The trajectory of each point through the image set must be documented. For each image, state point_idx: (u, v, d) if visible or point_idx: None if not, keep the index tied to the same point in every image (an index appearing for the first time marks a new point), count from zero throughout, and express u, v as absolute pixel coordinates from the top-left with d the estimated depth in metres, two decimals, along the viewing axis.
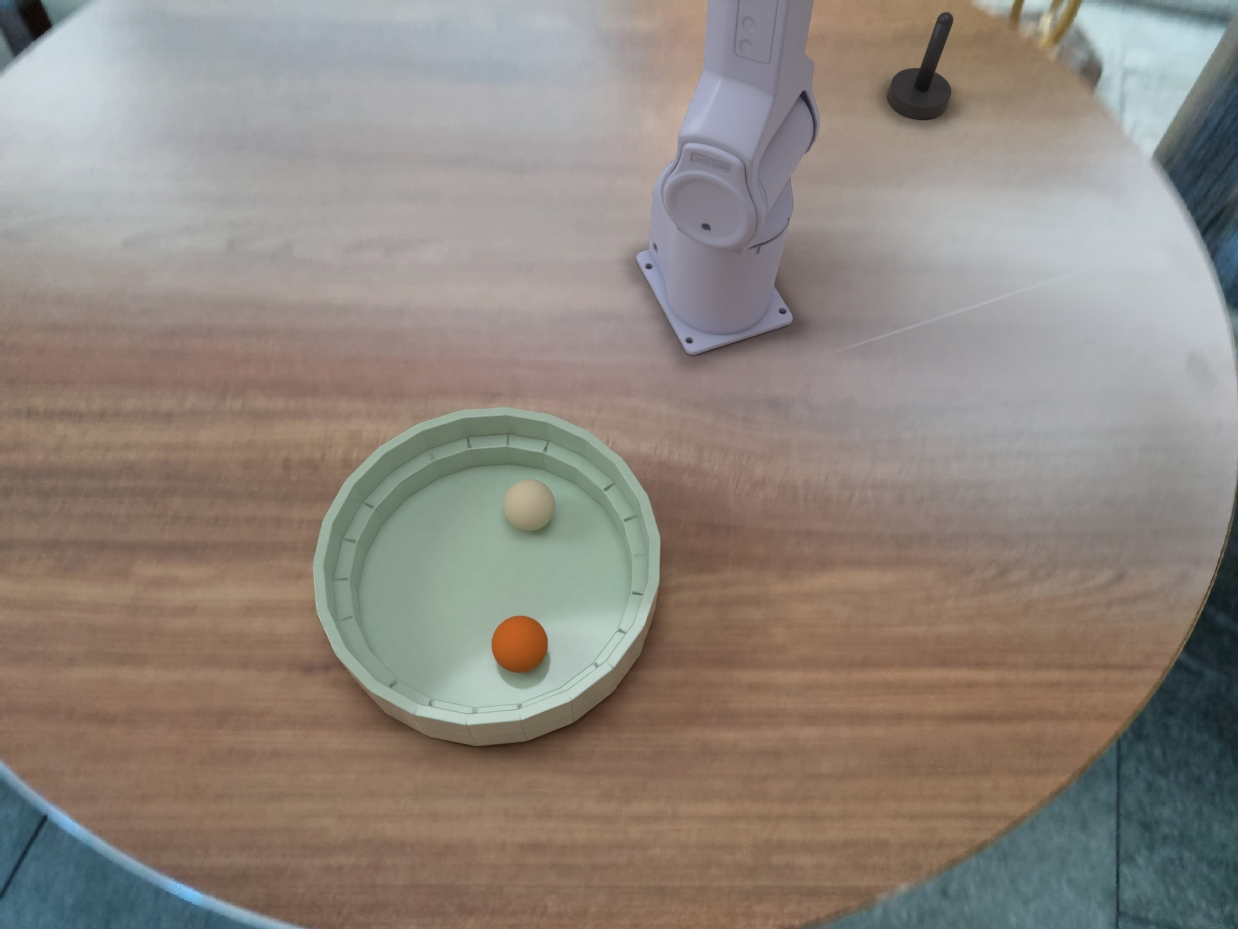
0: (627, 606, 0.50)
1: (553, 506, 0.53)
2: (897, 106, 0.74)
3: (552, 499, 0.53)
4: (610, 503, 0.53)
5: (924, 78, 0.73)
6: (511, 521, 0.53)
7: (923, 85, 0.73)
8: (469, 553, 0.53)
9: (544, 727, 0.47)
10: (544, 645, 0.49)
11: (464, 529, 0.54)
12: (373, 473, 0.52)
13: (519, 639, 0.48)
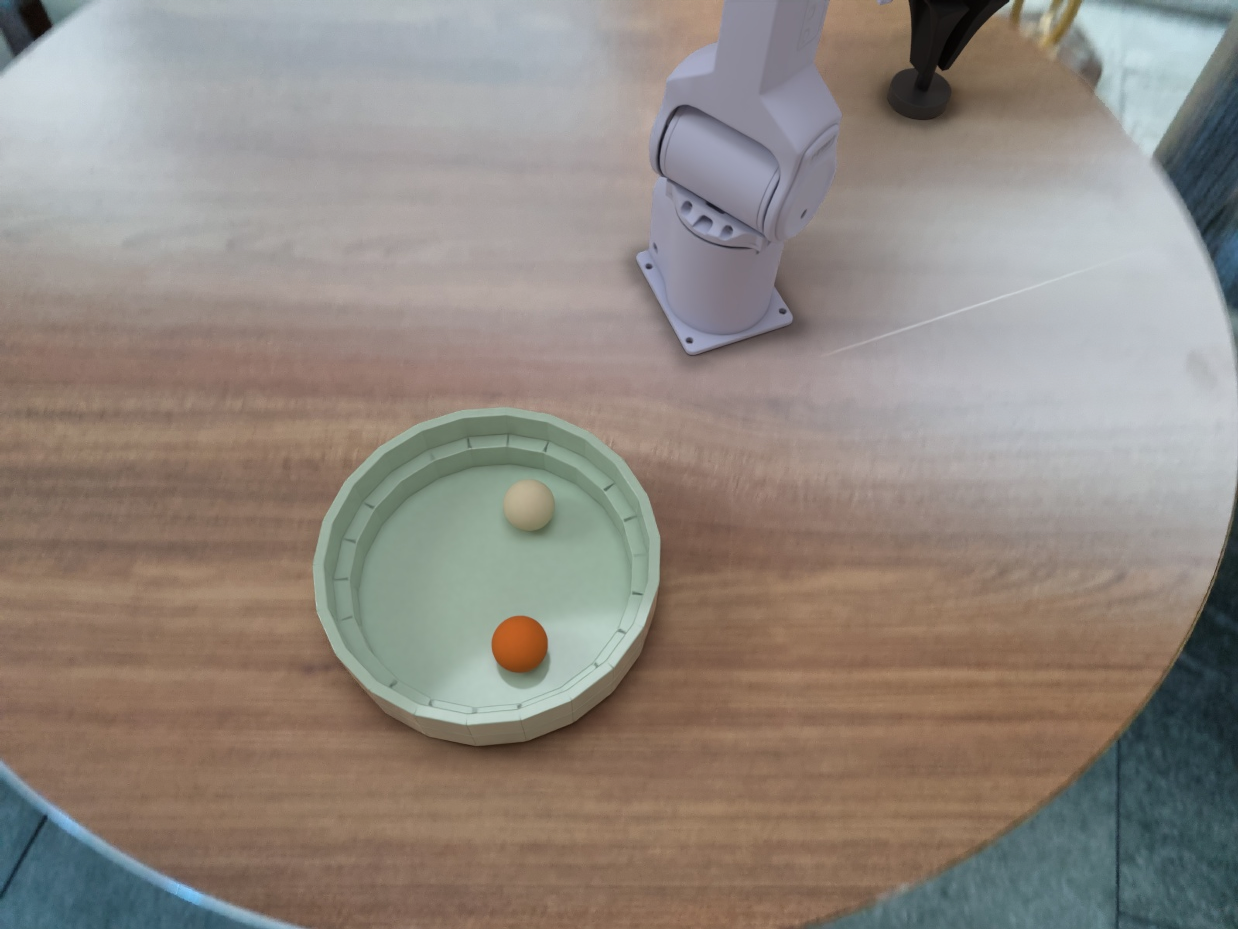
0: (627, 606, 0.50)
1: (553, 506, 0.53)
2: (897, 106, 0.74)
3: (552, 499, 0.53)
4: (610, 503, 0.53)
5: (924, 78, 0.73)
6: (511, 521, 0.53)
7: (923, 85, 0.73)
8: (469, 553, 0.53)
9: (544, 727, 0.47)
10: (544, 645, 0.49)
11: (464, 529, 0.54)
12: (373, 473, 0.52)
13: (519, 639, 0.48)
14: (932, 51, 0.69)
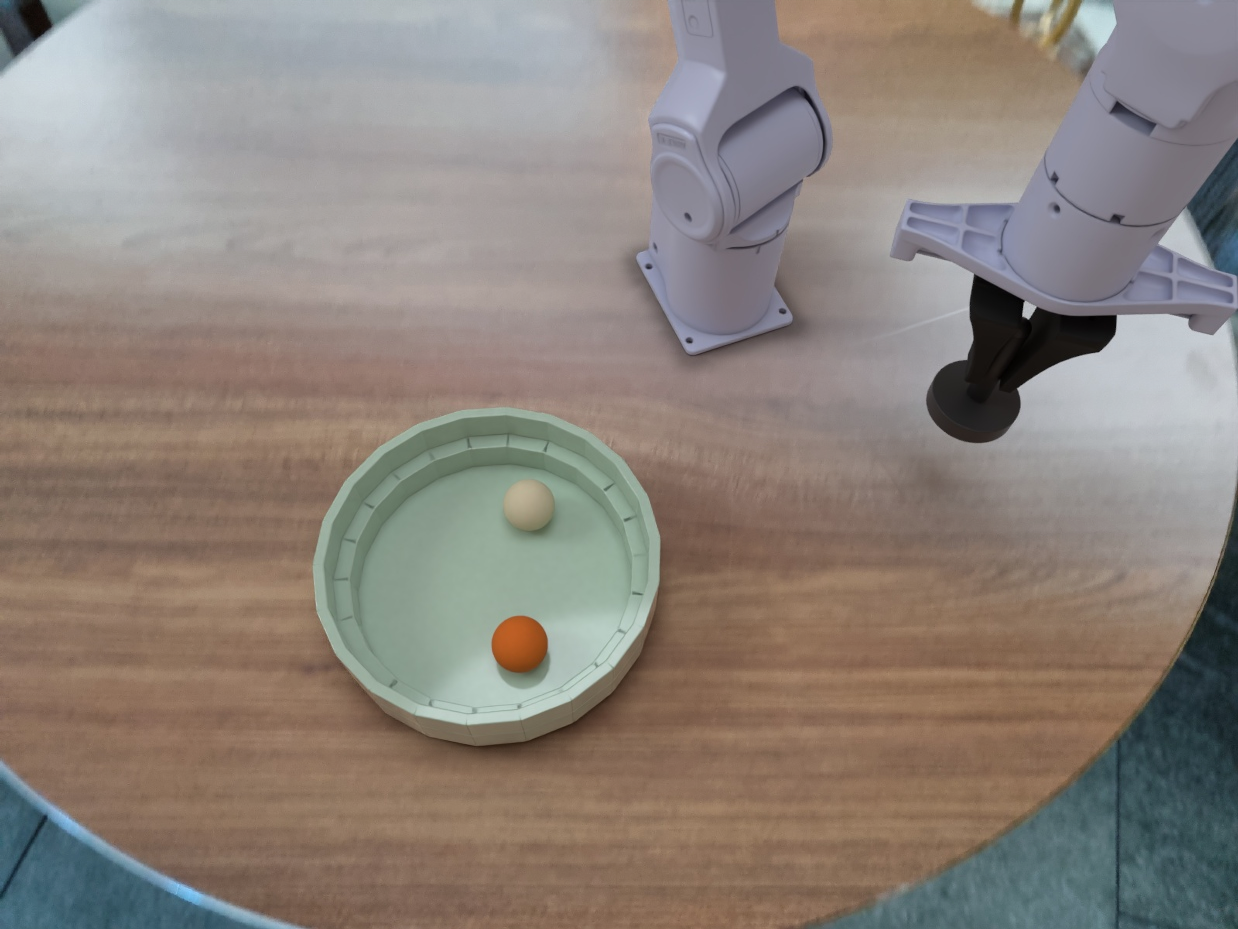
0: (627, 606, 0.50)
1: (553, 506, 0.53)
2: (928, 399, 0.51)
3: (552, 499, 0.53)
4: (610, 503, 0.53)
5: (976, 386, 0.49)
6: (511, 521, 0.53)
7: (973, 394, 0.50)
8: (469, 553, 0.53)
9: (544, 727, 0.47)
10: (544, 645, 0.49)
11: (464, 529, 0.54)
12: (373, 473, 0.52)
13: (519, 639, 0.48)
14: (974, 357, 0.46)
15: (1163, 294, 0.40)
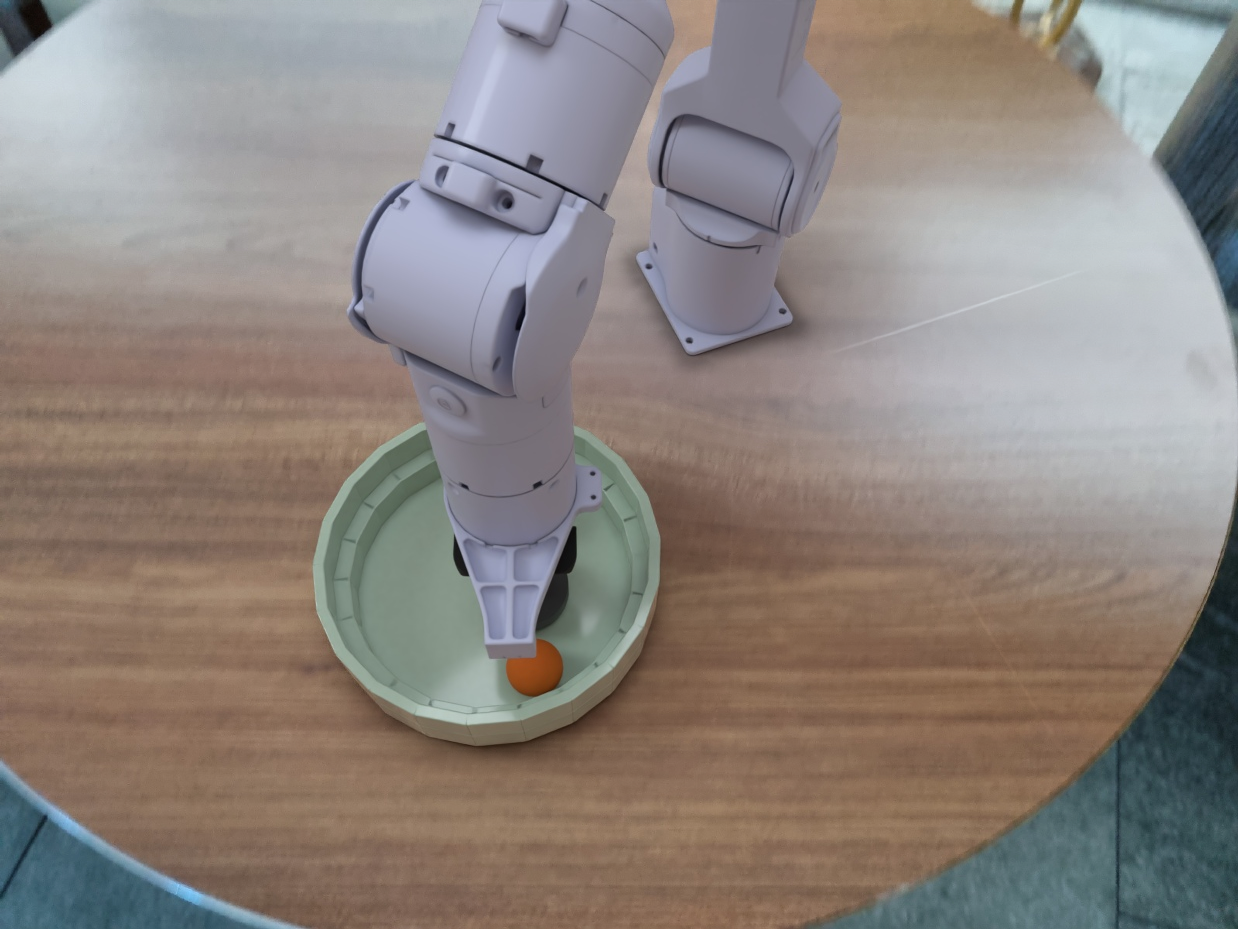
0: (627, 606, 0.50)
1: None
2: None
3: None
4: (610, 503, 0.53)
5: None
6: None
7: None
8: None
9: (544, 727, 0.47)
10: (560, 678, 0.49)
11: None
12: (373, 473, 0.52)
13: (545, 687, 0.47)
14: None
15: (492, 581, 0.39)
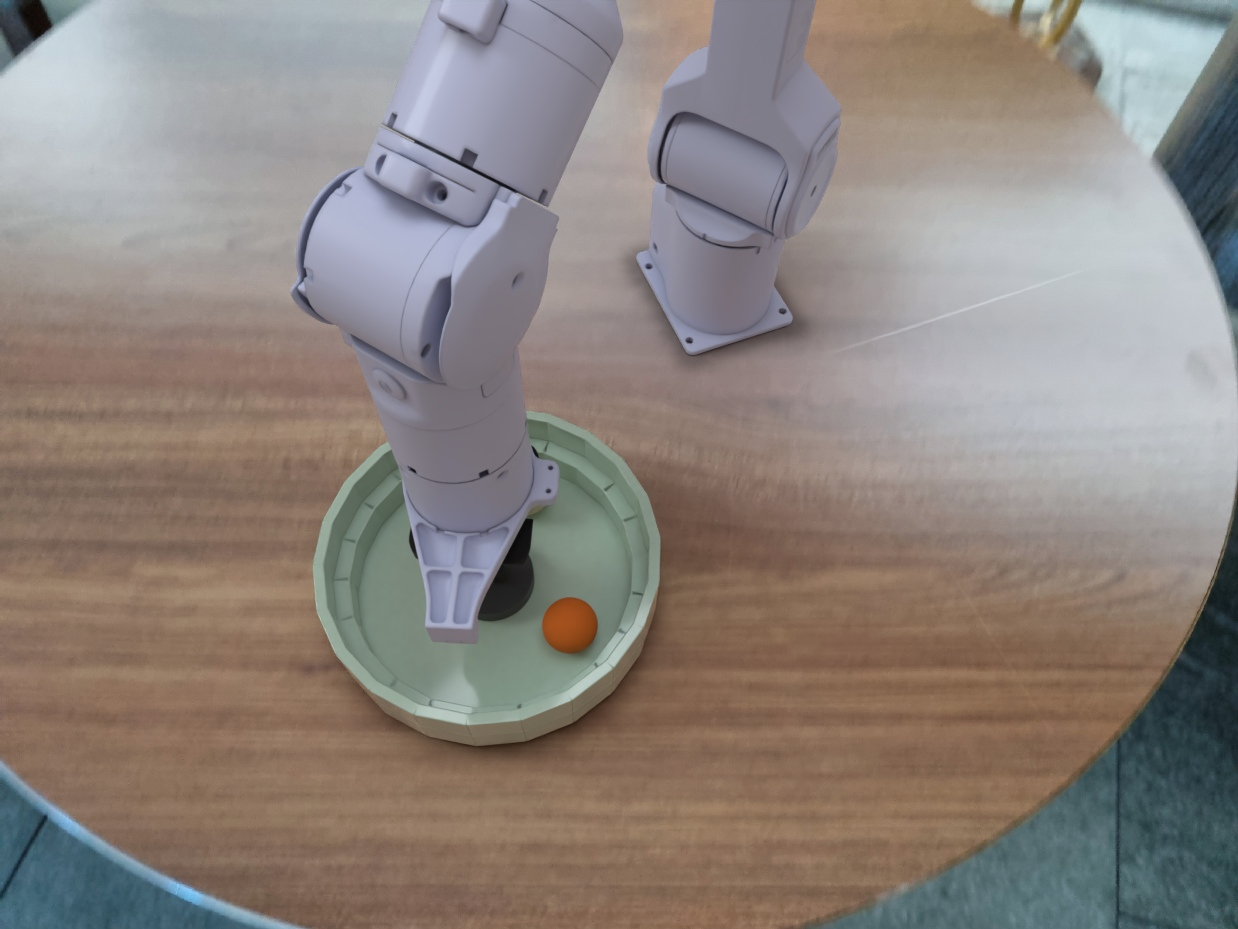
0: (627, 606, 0.50)
1: None
2: None
3: None
4: (610, 503, 0.53)
5: None
6: None
7: None
8: None
9: (544, 727, 0.47)
10: None
11: None
12: (373, 473, 0.52)
13: (596, 626, 0.49)
14: None
15: (440, 566, 0.40)
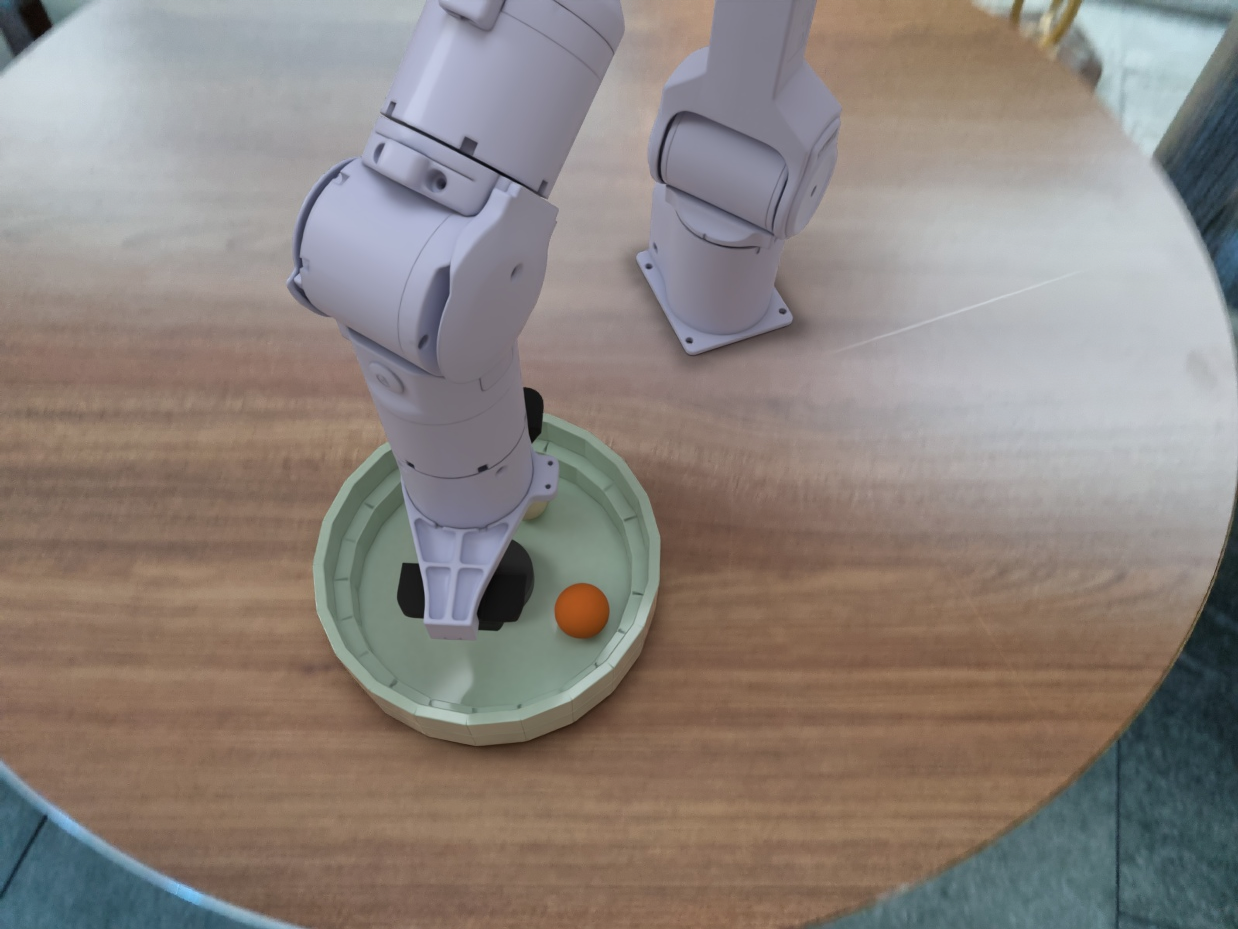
0: (627, 606, 0.50)
1: None
2: None
3: None
4: (610, 503, 0.53)
5: None
6: None
7: None
8: None
9: (544, 727, 0.47)
10: (592, 632, 0.49)
11: None
12: (373, 473, 0.52)
13: None
14: None
15: (439, 562, 0.40)
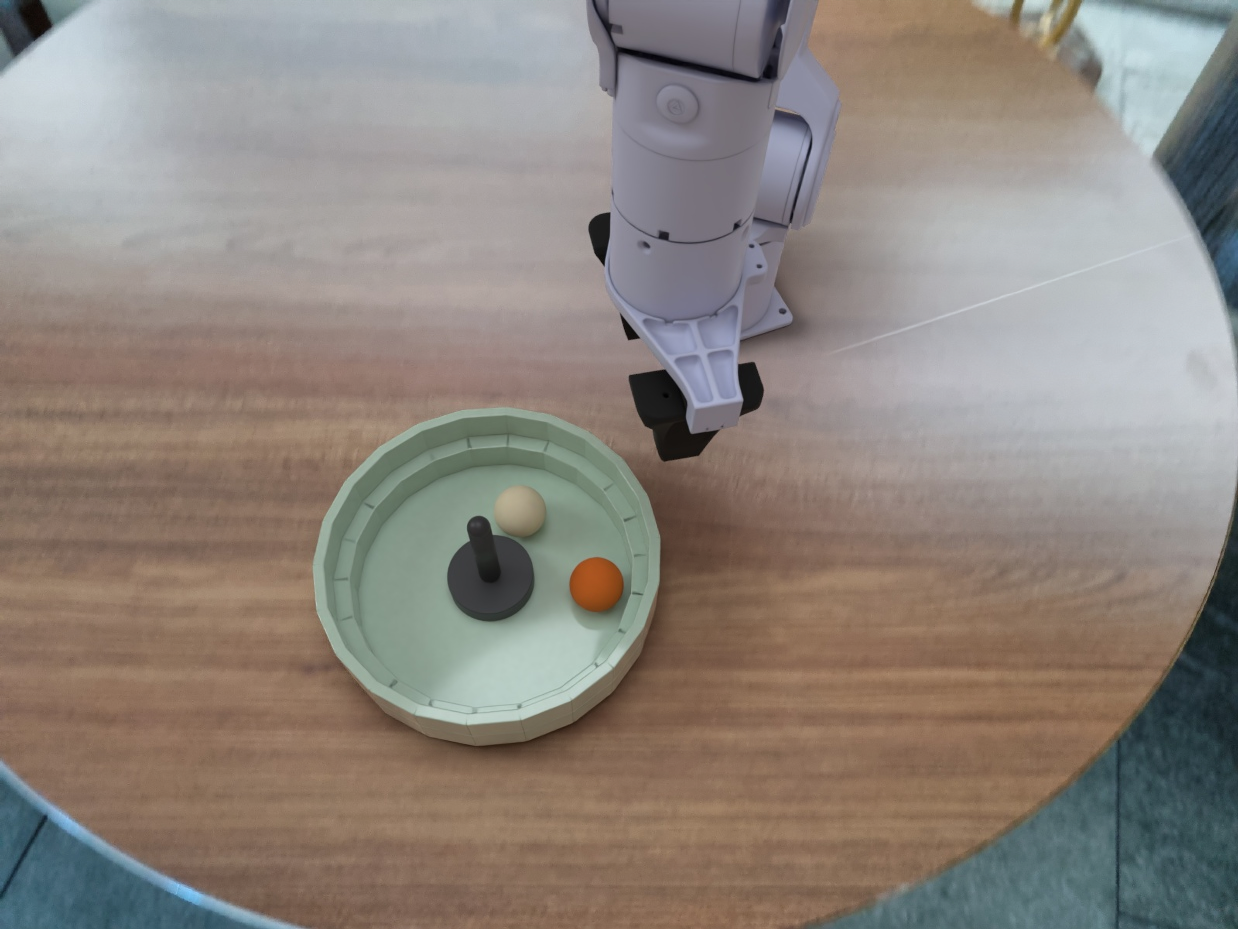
0: (627, 606, 0.50)
1: (540, 517, 0.52)
2: None
3: (539, 510, 0.52)
4: (610, 503, 0.53)
5: None
6: (500, 528, 0.53)
7: None
8: None
9: (544, 727, 0.47)
10: (611, 589, 0.50)
11: (464, 529, 0.54)
12: (373, 473, 0.52)
13: None
14: None
15: None
